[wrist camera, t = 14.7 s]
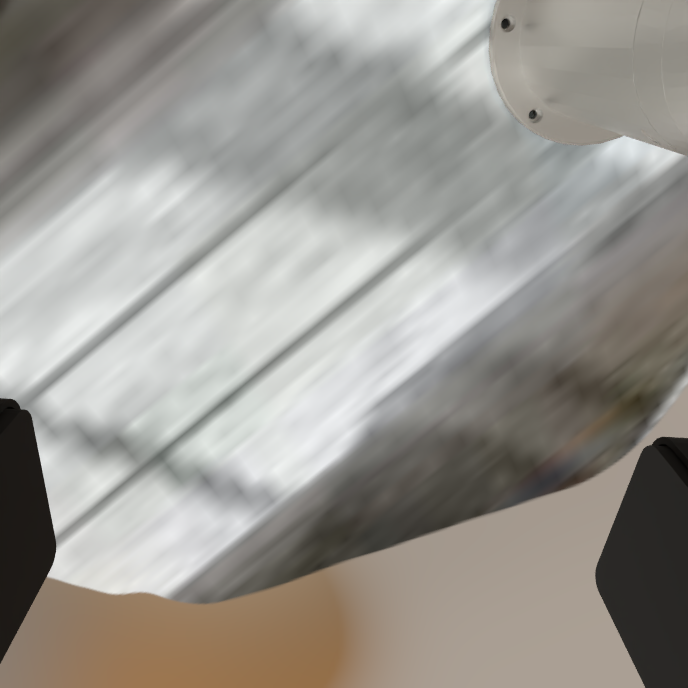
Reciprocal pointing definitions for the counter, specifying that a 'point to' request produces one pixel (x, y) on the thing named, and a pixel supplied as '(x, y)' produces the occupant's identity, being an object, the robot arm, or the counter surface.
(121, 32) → the counter surface
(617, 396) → the counter surface
